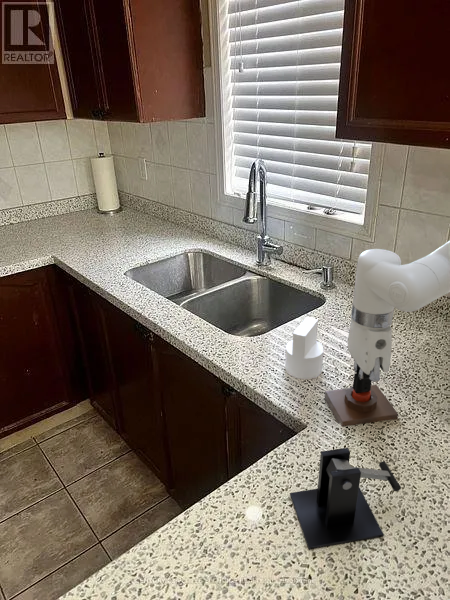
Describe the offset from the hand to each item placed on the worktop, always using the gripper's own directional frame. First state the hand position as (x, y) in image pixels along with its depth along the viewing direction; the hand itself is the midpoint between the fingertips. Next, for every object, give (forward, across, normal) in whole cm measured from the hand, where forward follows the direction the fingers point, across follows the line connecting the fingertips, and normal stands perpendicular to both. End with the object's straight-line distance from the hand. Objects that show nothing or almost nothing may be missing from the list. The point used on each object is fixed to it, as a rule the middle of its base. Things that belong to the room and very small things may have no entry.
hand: (361, 390), depth 94 cm
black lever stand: (+5, -24, +15) cm, 29 cm away
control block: (+5, 0, 0) cm, 5 cm away
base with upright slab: (+6, +17, +7) cm, 19 cm away
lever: (-3, -24, +11) cm, 27 cm away
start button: (+2, 0, 0) cm, 2 cm away
